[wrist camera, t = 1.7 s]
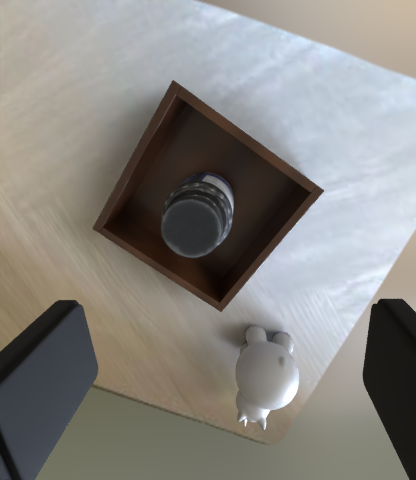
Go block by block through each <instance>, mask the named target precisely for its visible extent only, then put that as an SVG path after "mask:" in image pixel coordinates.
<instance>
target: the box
mask: <svg viewBox="0 0 416 480" xmlns="http://www.w3.org/2000/svg"><path fill="white" fill-rule="evenodd" d="M198 172H213V173H216V174H219V175H221V176H222V177H223V178H224V179H225V180H226V181H227V182H228V183H229V184H230V186H231V188H232V190H233V193H234V209H233V220H232V226H231V229H230V232H229V234H228V235H227V237H226V238H225V239H224V240H223V241H222V242H221V243H220V244H219V245H217V246H216V247H215V248H214V249H213V250H212V251H211V252H209V253H208V254H206V255H204V256H201V257H195V258H191V257H185V256H181V255H179V254H177V253H175V252H174V251H173V250H171V249H170V248H169V246H168V245H167V244H166V243H165V241H164V239H163V237H162V234H161V220H162V209H163V205H164V202H165V200H166V198H167V196H168V195H169V194H170V193H171V192H172V191H173V190H174V189H175V188H176V187H178V186H179V185H180V184H181V183H182V182H184V181H185V180H186V179H187V178H189V177H190V176H191V175H193V174H196V173H198ZM323 192H324V190H323V189H321V188H320V187H319V186H317V185H316V184H315V183H313V182H312V181H310V180H309V179H308V178H306V177H305V176H304V175H302V174H301V173H300V172H298V171H297V170H295V169H294V168H293V167H291V166H290V165H289V164H287V163H286V162H285V161H283V160H282V159H280V158H279V157H278V156H276V155H275V154H274V153H272V152H271V151H270V150H268V149H267V148H265V147H264V146H263V145H261V144H260V143H259V142H257V141H256V140H254V139H253V138H252V137H250V136H249V135H248V134H246V133H245V132H244V131H242V130H241V129H239V128H238V127H237V126H235V125H234V124H233V123H231V122H230V121H229V120H227V119H226V118H224V117H223V116H222V115H220V114H219V113H218V112H216V111H215V110H214V109H212V108H211V107H209V106H208V105H207V104H205V103H204V102H203V101H201V100H200V99H199V98H197V97H196V96H194V95H193V94H192V93H190V92H189V91H188V90H186V89H185V88H184V87H182V86H181V85H179V84H178V83H177V82H175V81H174V80H173V81H172V83H171V85H170V86H169V88H168V90H167V92H166V94H165V96H164V97H163V99H162V101H161V103H160V105H159V107H158V109H157V110H156V112H155V114H154V116H153V118H152V120H151V122H150V123H149V125H148V127H147V129H146V131H145V133H144V134H143V136H142V138H141V140H140V142H139V144H138V146H137V147H136V149H135V151H134V153H133V155H132V157H131V158H130V160H129V162H128V164H127V166H126V168H125V170H124V171H123V173H122V175H121V177H120V179H119V181H118V183H117V184H116V186H115V188H114V190H113V192H112V194H111V195H110V197H109V199H108V201H107V203H106V205H105V207H104V208H103V210H102V212H101V214H100V216H99V218H98V219H97V221H96V223H95V225H94V227H93V229H94V230H95V231H97V232H98V233H100V234H101V235H103V236H105V237H106V238H108V239H109V240H111V241H112V242H114V243H115V244H117V245H118V246H120V247H122V248H123V249H125V250H126V251H128V252H129V253H131V254H132V255H134V256H135V257H137V258H139V259H140V260H142V261H143V262H145V263H146V264H148V265H149V266H151V267H152V268H154V269H156V270H157V271H159V272H160V273H162V274H163V275H165V276H166V277H168V278H169V279H171V280H173V281H174V282H176V283H177V284H179V285H180V286H182V287H183V288H185V289H186V290H188V291H190V292H191V293H193V294H194V295H196V296H197V297H199V298H200V299H202V300H203V301H205V302H207V303H208V304H210V305H211V306H213V307H214V308H216V309H217V310H219V311H220V312H222V311H223V309H224V308H225V307H226V306H227V305H228V304H229V302H230V301H231V300H232V299H233V298H234V297H235V295H236V294H237V293H238V292H239V291H240V289H241V288H242V287H243V286H244V285H245V284H246V282H247V281H248V280H249V279H250V278H251V276H252V275H253V274H254V273H255V272H256V271H257V269H258V268H259V267H260V266H261V265H262V264H263V262H264V261H265V260H266V259H267V258H268V256H269V255H270V254H271V253H272V252H273V251H274V249H275V248H276V247H277V246H278V245H279V243H280V242H281V241H282V240H283V239H284V238H285V236H286V235H287V234H288V233H289V232H290V231H291V229H292V228H293V227H294V226H295V225H296V223H297V222H298V221H299V220H300V219H301V218H302V216H303V215H304V214H305V213H306V212H307V210H308V209H309V208H310V207H311V206H312V205H313V203H314V202H315V201H316V200H317V199H318V198H319V196H320V195H321V194H322V193H323Z"/></svg>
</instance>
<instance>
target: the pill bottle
mask: <svg viewBox="0 0 416 480" xmlns="http://www.w3.org/2000/svg"><path fill="white" fill-rule="evenodd" d="M233 209H234V193H233V190H232V188H231V186H230V184H229V183H228V182H227V181H226V180H225V179H224V178H223V177H222V176H221V175H219V174H216V173H213V172H198V173H196V174H193V175H191V176H190V177H189V178H187V179H186V180H185V181H184V182H182V183H181V184H180V185H179V186H178V187H176V188H175V189H174V190H173V191H172V192H171V193H170V194H169V195H168V196H167V198H166V200H165V202H164V205H163V209H162V220H161V234H162V237H163V239H164V241H165V243H166V244H167V245H168V246H169V248H170V249H171V250H173V251H174V252H175V253H177V254H179V255H181V256H185V257H191V258H195V257H201V256H204V255H206V254H208V253H209V252H211V251H212V250H213V249H214V248H215V247H216V246H217V245H219V244H220V243H221V242H222V241H223V240H224V239H225V238H226V237H227V235H228V234H229V232H230V229H231V226H232V220H233Z"/></svg>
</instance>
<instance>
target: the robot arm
mask: <svg viewBox="0 0 416 480" xmlns="http://www.w3.org/2000/svg"><path fill="white" fill-rule="evenodd" d="M97 374H98V364H97V360H96V356H95V352H94V348H93V344H92V341H91V337H90V333H89V329H88V325H87V321H86V317H85V313H84V309H83V306H82V305H80V304H79V303H78V302H77V301H75V300H59V301H57V302H55V303H54V304H53V305H52V306H51V307H50V308H48V309H47V310H46V311H45V312H44V313H43V314H42V315H41V316H40V317H38V318H37V319H36V320H35V321H34V322H33V323H32V324H31V325H29V326H28V327H27V328H26V329H25V330H24V331H23V332H22V333H21V334H19V335H18V336H17V337H16V338H15V339H14V340H13V341H12V342H11V343H9V344H8V345H7V346H6V347H5V348H4V349H3V350H2V351H1V352H0V480H35V478H36V477H37V475H38V473H39V471H40V470H41V468H42V467H43V465H44V463H45V462H46V459H47V458H48V456H49V455H50V453H51V452H52V450H53V448H54V447H55V445H56V443H57V442H58V440H59V438H60V437H61V435H62V433H63V432H64V430H65V428H66V427H67V425H68V423H69V422H70V420H71V419H72V417H73V415H74V414H75V412H76V410H77V408H78V407H79V405H80V404H81V402H82V400H83V399H84V397H85V395H86V394H87V392H88V390H89V389H90V387H91V385H92V384H93V382H94V380H95V379H96V377H97ZM363 381H364V385H365V387H366V390H367V392H368V394H369V396H370V398H371V400H372V402H373V404H374V406H375V409H376V411H377V413H378V415H379V417H380V419H381V421H382V423H383V425H384V427H385V429H386V432H387V434H388V435H389V438H390V440H391V442H392V444H393V446H394V448H395V450H396V452H397V454H398V457H399V459H400V461H401V463H402V465H403V467H404V469H405V471H406V473H407V475H408V477H409V479H410V480H416V312H415V311H414V310H413V309H412V308H411V307H410V306H409V305H408V304H407V303H406V302H405V301H404V300H403V299H380V300H379V301H378V303H377V304H373V305H372V308H371V315H370V322H369V330H368V337H367V345H366V353H365V360H364V368H363Z"/></svg>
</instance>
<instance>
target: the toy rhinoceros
mask: <svg viewBox="0 0 416 480" xmlns="http://www.w3.org/2000/svg"><path fill="white" fill-rule="evenodd" d="M245 336H246V341H247V343H245V344H244V345H242V346H241V348H240V357H239V359H238V361H237V365H236V381H237V385H238V387H239V389H240V390H239V391H238V393H237V397H236V405H237V408H238V410H239V412H238V421H242V420H243V424H244V426H246V422H247V420H249V421H251V422H258V423H259V424H260V426H261V428H262V429H263V430H265V428H266V416H267V415H268V413H269V411H270V410H275V409H279V408H281V407H283V406H285V405H287V404H288V403H289V402H290V401H291V400H292V399H293V397H294V396H295V394H296V392H297V389H298V385H299V372H298V368H297V365H296V363H295V361H294V359H293V357H292V356H291V353H292V350H293V340H292V337H291V336H290V335H289V334H288V333H285V332H279V333H276V334H275V335H274V336H273V339H272V342H268V341H267V338H266V333H265V331H264V329H263V328H262V327H260V326H258V325H254V326H251V327H249V328H248V329H247V331H246V334H245Z"/></svg>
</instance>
